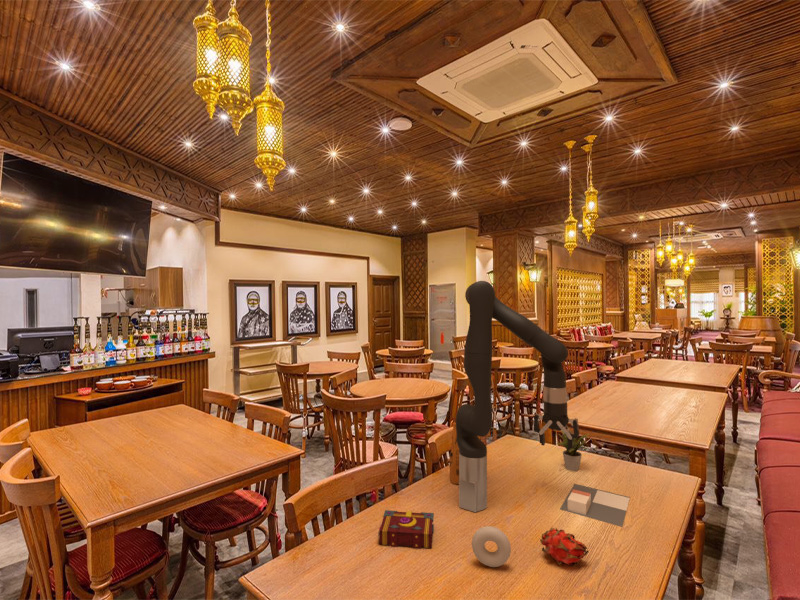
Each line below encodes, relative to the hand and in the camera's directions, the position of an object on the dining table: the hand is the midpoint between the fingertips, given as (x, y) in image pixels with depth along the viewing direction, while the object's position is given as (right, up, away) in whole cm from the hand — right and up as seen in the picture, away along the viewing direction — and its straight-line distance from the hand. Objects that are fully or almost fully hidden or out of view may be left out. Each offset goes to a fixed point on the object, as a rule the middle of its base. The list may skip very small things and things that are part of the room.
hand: (556, 447), depth 137 cm
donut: (-29, -19, -32) cm, 48 cm away
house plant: (+17, -19, +26) cm, 36 cm away
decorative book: (-52, -20, -19) cm, 58 cm away
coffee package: (-28, -19, +17) cm, 38 cm away
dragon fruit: (-10, -19, -30) cm, 37 cm away
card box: (+6, -18, -4) cm, 20 cm away
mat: (+13, -19, -2) cm, 23 cm away
